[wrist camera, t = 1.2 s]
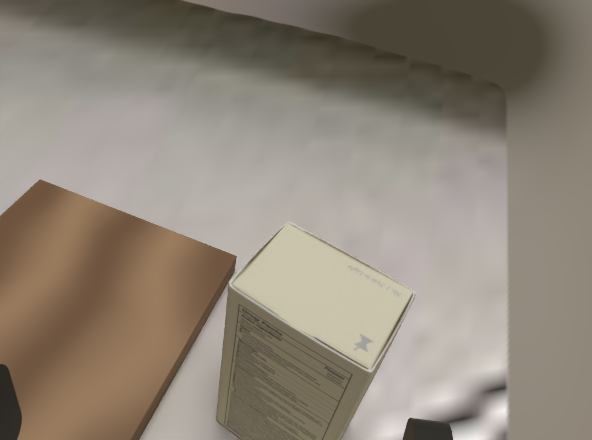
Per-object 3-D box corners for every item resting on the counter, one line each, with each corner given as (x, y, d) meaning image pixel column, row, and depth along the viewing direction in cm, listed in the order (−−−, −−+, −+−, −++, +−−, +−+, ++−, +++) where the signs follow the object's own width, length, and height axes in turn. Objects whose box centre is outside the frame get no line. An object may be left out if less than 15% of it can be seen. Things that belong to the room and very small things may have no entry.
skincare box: (350, 422, 30) (426, 292, 21) (309, 494, 27) (377, 378, 18) (255, 359, 32) (289, 214, 23) (207, 420, 29) (225, 282, 20)
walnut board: (-310, 536, 22) (-335, 526, 21) (43, 195, 37) (39, 179, 36) (-6, 693, 21) (-15, 690, 19) (234, 270, 36) (236, 256, 35)
